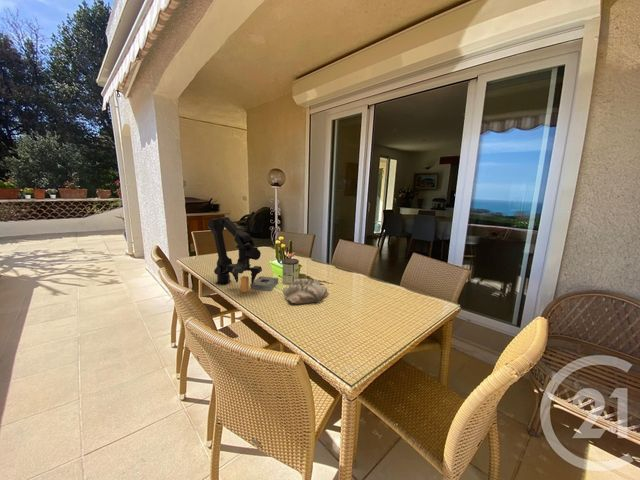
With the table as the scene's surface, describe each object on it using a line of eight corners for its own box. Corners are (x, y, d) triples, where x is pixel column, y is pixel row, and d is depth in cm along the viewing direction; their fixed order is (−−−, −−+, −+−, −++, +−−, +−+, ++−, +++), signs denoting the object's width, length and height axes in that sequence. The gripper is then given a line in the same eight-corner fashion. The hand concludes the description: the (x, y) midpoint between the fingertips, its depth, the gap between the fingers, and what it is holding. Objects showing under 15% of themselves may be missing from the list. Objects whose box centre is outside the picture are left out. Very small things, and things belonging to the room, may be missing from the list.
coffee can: (284, 278, 167) (284, 257, 164) (299, 279, 166) (300, 258, 163) (280, 284, 157) (280, 262, 154) (296, 285, 156) (297, 263, 153)
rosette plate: (250, 288, 148) (250, 283, 147) (260, 280, 161) (260, 275, 161) (270, 291, 146) (270, 285, 145) (278, 282, 159) (278, 277, 159)
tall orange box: (241, 291, 144) (240, 277, 142) (243, 289, 147) (243, 276, 146) (246, 291, 144) (246, 278, 142) (248, 289, 147) (248, 276, 145)
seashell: (300, 308, 123) (292, 278, 125) (281, 312, 136) (274, 284, 138) (340, 293, 142) (332, 268, 144) (319, 298, 155) (313, 274, 157)
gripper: (220, 258, 135) (221, 286, 138) (253, 261, 132) (254, 290, 135) (231, 253, 146) (232, 279, 149) (262, 256, 143) (262, 282, 146)
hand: (244, 283), depth 144 cm, fingers open, 9 cm apart
